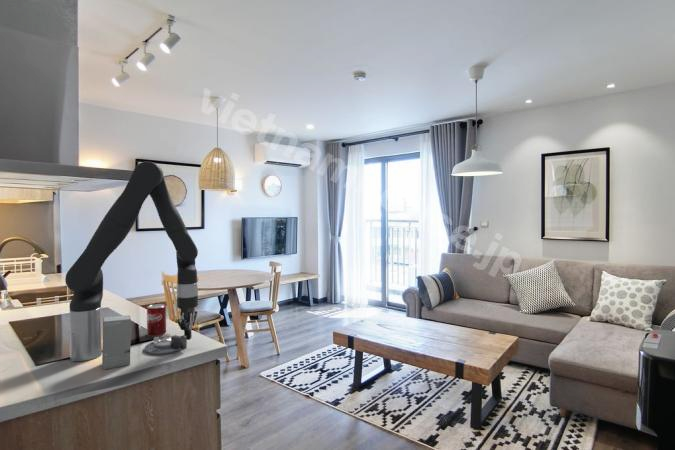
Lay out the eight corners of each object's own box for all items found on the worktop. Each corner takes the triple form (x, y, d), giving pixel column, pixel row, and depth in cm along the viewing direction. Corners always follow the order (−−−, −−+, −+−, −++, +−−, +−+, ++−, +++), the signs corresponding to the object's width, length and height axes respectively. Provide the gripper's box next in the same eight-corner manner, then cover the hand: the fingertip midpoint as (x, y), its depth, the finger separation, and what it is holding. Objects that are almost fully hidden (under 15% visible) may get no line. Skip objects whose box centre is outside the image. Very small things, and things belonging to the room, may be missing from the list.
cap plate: (150, 358, 133) (150, 354, 133) (140, 347, 143) (140, 343, 143) (190, 349, 142) (190, 345, 142) (178, 339, 153) (178, 336, 152)
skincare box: (102, 370, 123) (101, 322, 122) (102, 362, 129) (101, 316, 128) (131, 365, 127) (131, 318, 126) (130, 357, 133) (129, 313, 132)
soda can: (158, 337, 154) (158, 308, 154) (143, 336, 156) (142, 307, 155) (169, 332, 161) (169, 304, 161) (155, 330, 163) (154, 303, 162)
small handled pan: (149, 346, 141) (148, 333, 141) (167, 339, 148) (167, 328, 148) (174, 353, 134) (174, 340, 134) (192, 346, 141) (192, 334, 141)
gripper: (189, 298, 138) (190, 345, 138) (203, 291, 151) (204, 333, 152) (169, 298, 138) (170, 345, 139) (185, 290, 151) (186, 333, 152)
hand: (187, 339), depth 145 cm, fingers closed
